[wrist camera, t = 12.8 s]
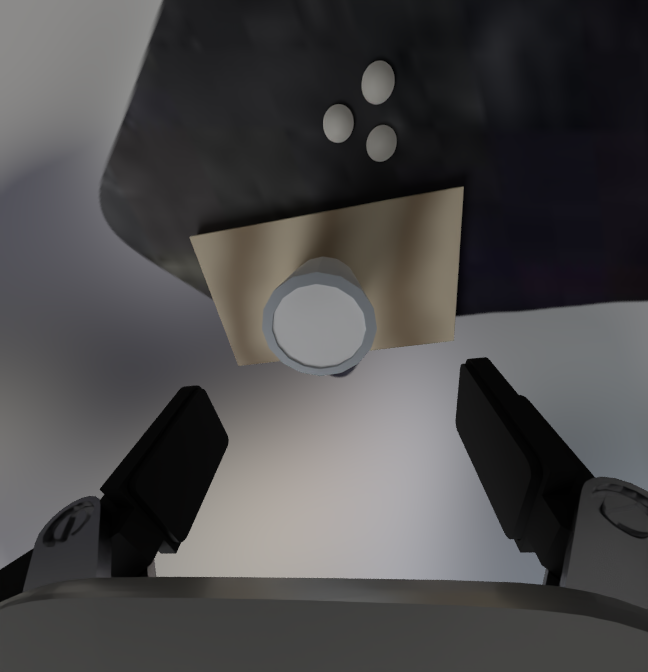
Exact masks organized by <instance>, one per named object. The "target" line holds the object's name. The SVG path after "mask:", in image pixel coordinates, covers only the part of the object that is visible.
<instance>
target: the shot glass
mask: <svg viewBox="0 0 648 672" xmlns="http://www.w3.org/2000/svg"><path fill="white" fill-rule="evenodd" d="M262 331H263V333H264V336H265V339H266V341H267V344H268V347H269V349H270V350H271V351H272V352H273V353H274V354H275V355H276V356H277V357H278V358H279V360H280V361H281V362H282V363H284V364H286V365H287V366H289V367H291V368H293V369H295V370H297V371H299V372H301V373H307V374H312V375H318V376H323V375H330V374H336V373H341V372H343V371H345V370H347V369H349V368H351V367H353V366H354V365H356V364H358V363H359V362H360V361H361V360H362V358H363V357H364V356H365V355H366V354H367V352H368V351H369V350H370V349H371V347H372V344H373V341H374V337H375V334H376V331H377V326H376V319H375V313H374V308H373V306H372V304H371V302H370V301H369V299H368V297H367V295H366V294H365V292H364V290H363V288H362V287H361V285H360V283H359V281H358V280H357V278H356V276H355V275H354V273H353V272H352V270H351V269H350V267H349V266H347V265H346V264H344V263H343V262H341V261H340V260H338V259H335V258H329V257H324V256H323V257H319V258H314V259H310V260H308V261H307V262H305V263H304V264H303V265H301V266H300V267H299V268H297V269H296V270H295V271H294V272H293V273H292V274H291V275H290V276H289V277H288V278H287V279H286V280H285V281H284V282H282V283H281V284H280V285H279V286H278V287H277V288H276V289H275V290H274V291H273V293H272V295H271V296H270V298H269V300H268V302H267V304H266V305H265V307H264V309H263V322H262Z"/></svg>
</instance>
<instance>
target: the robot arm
mask: <svg viewBox="0 0 648 672" xmlns="http://www.w3.org/2000/svg"><path fill="white" fill-rule="evenodd" d="M456 428H457V431H458V432H459V435H460V438H461V439H462V442H463V444H464V446H465V448H466V450H467V453H468V455H469V457H470V459H471V461H472V464H473V466H474V467H475V470H476V472H477V474H478V477H479V479H480V481H481V483H482V485H483V487H484V490H485V492H486V494H487V496H488V498H489V500H490V503H491V505H492V507H493V509H494V511H495V513H496V515H497V518H498V520H499V522H500V524H501V527H502V529H503V531H504V533H505V535H506V536H507V537H508V538H509V539H514V540H515V542H516V544H517V547H518V548H519V550H520V552H535V553H536V555H537V557H538V559H539V561H540V562H541V565H542V566H544V567H545V568H546V571H545V575H544V580H543V584H542V585H537V584H525V583H510V582H484V581H456V580H405V579H343V578H340V579H339V578H251V577H249V578H248V577H156V571H155V562H154V558H155V556H156V554H157V552H158V551H159V552H160V553H177V550H178V548H179V546H180V544H181V542H183V541H184V540H185V539H186V537H187V535H188V533H189V531H190V529H191V527H192V524H193V522H194V520H195V518H196V515H197V513H198V511H199V509H200V506H201V504H202V502H203V500H204V497H205V495H206V493H207V491H208V488H209V486H210V484H211V482H212V480H213V477H214V475H215V473H216V471H217V468H218V466H219V464H220V462H221V459H222V457H223V455H224V453H225V451H226V448H227V446H228V436H227V433H226V431H225V429H224V427H223V425H222V423H221V421H220V419H219V417H218V415H217V413H216V411H215V409H214V407H213V405H212V403H211V401H210V399H209V397H208V395H207V393H206V391H205V390H204V389H202V388H201V387H200V386H186V387H182V388H181V389H180V390H179V391H178V392H177V394H176V395H175V396H174V397H173V399H172V400H171V401H170V402H169V403H168V405H167V406H166V407H165V408H164V410H163V411H162V413H161V414H160V415H159V416H158V418H156V420H155V421H154V422H153V423H152V425H151V426H150V427H149V428H148V430H147V431H146V432H145V433H144V435H143V436H142V437H141V439H140V440H139V441H138V442H137V443H136V445H135V446H134V447H133V448H132V450H131V451H130V452H129V453H128V454H127V456H126V457H125V458H124V459H123V461H122V462H121V463H120V465H119V466H118V467H117V468H116V469H115V471H114V472H113V473H112V474H111V476H110V477H109V478H108V479H107V481H106V482H105V483H104V484H103V486H102V487H101V488H100V490H101V491H102V492H103V493H104V494H105V495H104V496H103V497H102V498H101V500H100V499H98V498H97V497H96V496H88V497H84V498H81V499H79V500H76V501H74V502H72V503H71V504H69V505H68V506H66V507H65V508H63V509H62V510H61V511H59V512H58V513H57V514H56V515H55V516H54V517H53V518H52V519H51V520H50V521H49V522H48V523H47V524H46V525H45V526H44V528H43V529H42V531H41V532H40V533H39V535H38V538H37V540H36V542H35V546H34V548H33V549H32V550H30V551H29V552H27V553H26V554H24V555H23V556H21V557H19V558H18V559H16V560H15V561H13V562H12V563H10V564H9V565H7V566H5V567H4V568H2V569H1V570H0V672H648V492H647V491H646V490H644V489H642V488H640V487H638V486H636V485H633V484H631V483H628V482H625V481H622V480H619V479H616V478H608V477H597V478H595V477H594V476H593V475H592V474H591V472H590V471H589V470H588V469H587V468H586V466H585V465H584V464H583V463H582V462H581V461H580V460H579V458H578V457H577V456H576V455H575V454H574V452H573V451H572V450H571V449H570V448H569V447H568V445H567V444H566V443H565V442H564V441H563V440H562V438H561V437H560V436H559V435H558V434H557V433H556V431H555V430H554V429H553V428H552V427H551V426H550V425H549V423H548V422H547V421H546V420H545V419H544V418H543V416H542V415H541V414H540V413H539V412H538V410H537V409H536V408H535V407H534V406H533V405H532V403H530V401H529V400H528V399H527V398H526V397H524V396H522V395H518V394H517V392H516V391H515V390H514V389H513V388H512V386H511V385H510V384H509V383H508V382H507V381H506V379H505V378H504V377H503V376H502V374H501V373H500V372H499V371H498V370H497V368H496V367H495V366H494V365H493V364H492V362H491V361H490V360H489V359H488V358H486V357H485V358H474V359H467V361H466V364H461V367H460V378H459V388H458V399H457V411H456Z"/></svg>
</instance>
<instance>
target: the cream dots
mask: <svg viewBox="0 0 648 672" xmlns="http://www.w3.org/2000/svg"><path fill="white" fill-rule="evenodd" d="M394 82H395V78H394V72H393V70H392V68H391V66H390V65H389V64H388V63H386V62H384V61H375V62H373V63H372V64H370V65H369V66H368V67H367V69H366V70H365V72H364V75H363V78H362V93H363V95H364V97H365V99H366V100H367V101H368V102H369V103H371V104H374V105H378V104H381V103H383V102H385V101H386V100H387V99H388V98H389V96H390V95H391V93H392V91H393V88H394ZM353 125H354V120H353V115H352V113H351V111H350V110H349V109H348V108H347V107H346V106H345V105H342V104H336V105H333V106H331V107H330V108H329V109H328V110H327V112H326V114H325V116H324V119H323V128H324V132H325V134H326V136H327V138H328V139H329V140H331V141H332V142H335V143H341V142H343V141H345V140H347V139H348V138H349V136H350V135H351V133H352V130H353ZM396 144H397V138H396V134H395V132H394V130H393V129H392V128H391V127H389V126H387V125H380V126H377V127H375V128H374V129H373V130H372V131H371V132H370V134H369V136H368V138H367V142H366V149H367V152H368V155H369V156H370V157H371V159H373V160H375V161H378V162H381V161H385V160H387V159H388V158H390V157H391V156H392V154H393V153H394V151H395V149H396Z"/></svg>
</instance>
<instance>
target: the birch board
mask: <svg viewBox="0 0 648 672" xmlns="http://www.w3.org/2000/svg"><path fill="white" fill-rule="evenodd" d="M463 190H464V187H454V188H448V189H443V190H438V191H432V192H427V193H421V194H416V195H410V196H405V197H399V198H394V199H389V200H383V201H378V202H372V203H367V204H361V205H356V206H351V207H345V208H340V209H334V210H329V211H323V212H318V213H312V214H307V215H302V216H296V217H291V218H285V219H280V220H274V221H269V222H264V223H258V224H253V225H247V226H242V227H236V228H231V229H226V230H220V231H215V232H209V233H204V234H198V235H194V236H191V237H190V240H191V243H192V245H193V248H194V250H195V253H196V256H197V258H198V261H199V263H200V266H201V269H202V271H203V274H204V277H205V279H206V282H207V284H208V287H209V290H210V292H211V295H212V297H213V300H214V303H215V305H216V308H217V311H218V313H219V316H220V318H221V321H222V324H223V326H224V329H225V331H226V334H227V337H228V339H229V342H230V344H231V347H232V350H233V352H234V355H235V358H236V360H237V363H238V365H239V366H242V365H249V364H258V363H267V362H275V361H280V360H279V358H278V357H277V356H276V355H275V354H274V353H273V352H272V351H271V350H270V349H269V347H268V344H267V341H266V339H265V336H264V333H263V331H262V322H263V309H264V307H265V305H266V304H267V302H268V300H269V298H270V296H271V295H272V293H273V291H274V290H275V289H276V288H277V287H278V286H279V285H280V284H281V283H282V282H284V281H285V280H286V279H287V278H288V277H289V276H290V275H291V274H292V273H293V272H294V271H295V270H296V269H297V268H299V267H300V266H301V265H303V264H304V263H305V262H307V261H308V260H310V259H314V258H319V257H323V256H324V257H329V258H335V259H338V260H340V261H341V262H343V263H344V264H346V265H347V266H349V267H350V269H351V270H352V272H353V273H354V275H355V276H356V278H357V280H358V281H359V283H360V285H361V287H362V288H363V290H364V292H365V294H366V295H367V297H368V299H369V301H370V302H371V304H372V306H373V308H374V313H375V319H376V326H377V331H376V334H375V337H374V341H373V344H372V347H371V349H370V350H378V349H387V348H395V347H404V346H412V345H421V344H430V343H438V342H447V341H454V329H455V314H456V299H457V283H458V268H459V252H460V237H461V221H462V206H463ZM370 350H369V351H370Z"/></svg>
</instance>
